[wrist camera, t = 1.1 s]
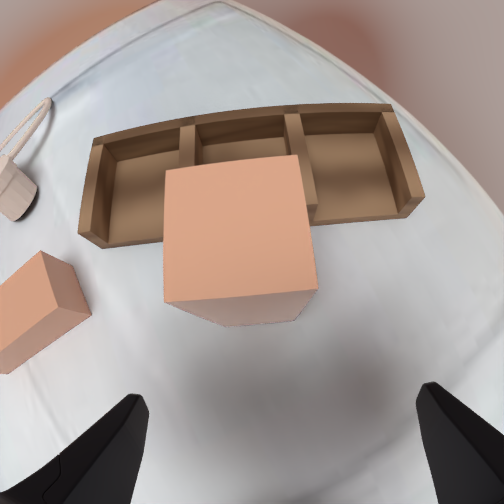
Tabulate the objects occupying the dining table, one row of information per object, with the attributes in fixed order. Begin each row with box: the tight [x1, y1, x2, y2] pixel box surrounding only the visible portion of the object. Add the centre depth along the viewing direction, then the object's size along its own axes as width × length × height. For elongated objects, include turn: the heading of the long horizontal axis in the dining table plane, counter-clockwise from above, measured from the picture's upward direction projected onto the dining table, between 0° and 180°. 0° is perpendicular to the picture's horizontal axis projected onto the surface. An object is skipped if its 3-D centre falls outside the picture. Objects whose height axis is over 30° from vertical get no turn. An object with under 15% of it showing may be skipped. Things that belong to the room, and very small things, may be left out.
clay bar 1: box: [0, 250, 92, 374], centre depth 21 cm, size 13×5×5 cm, turn 122°
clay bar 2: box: [163, 155, 318, 327], centre depth 17 cm, size 5×5×13 cm
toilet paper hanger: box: [0, 97, 52, 221], centre depth 28 cm, size 20×5×16 cm
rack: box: [78, 103, 425, 249], centre depth 24 cm, size 9×26×4 cm, turn 95°
